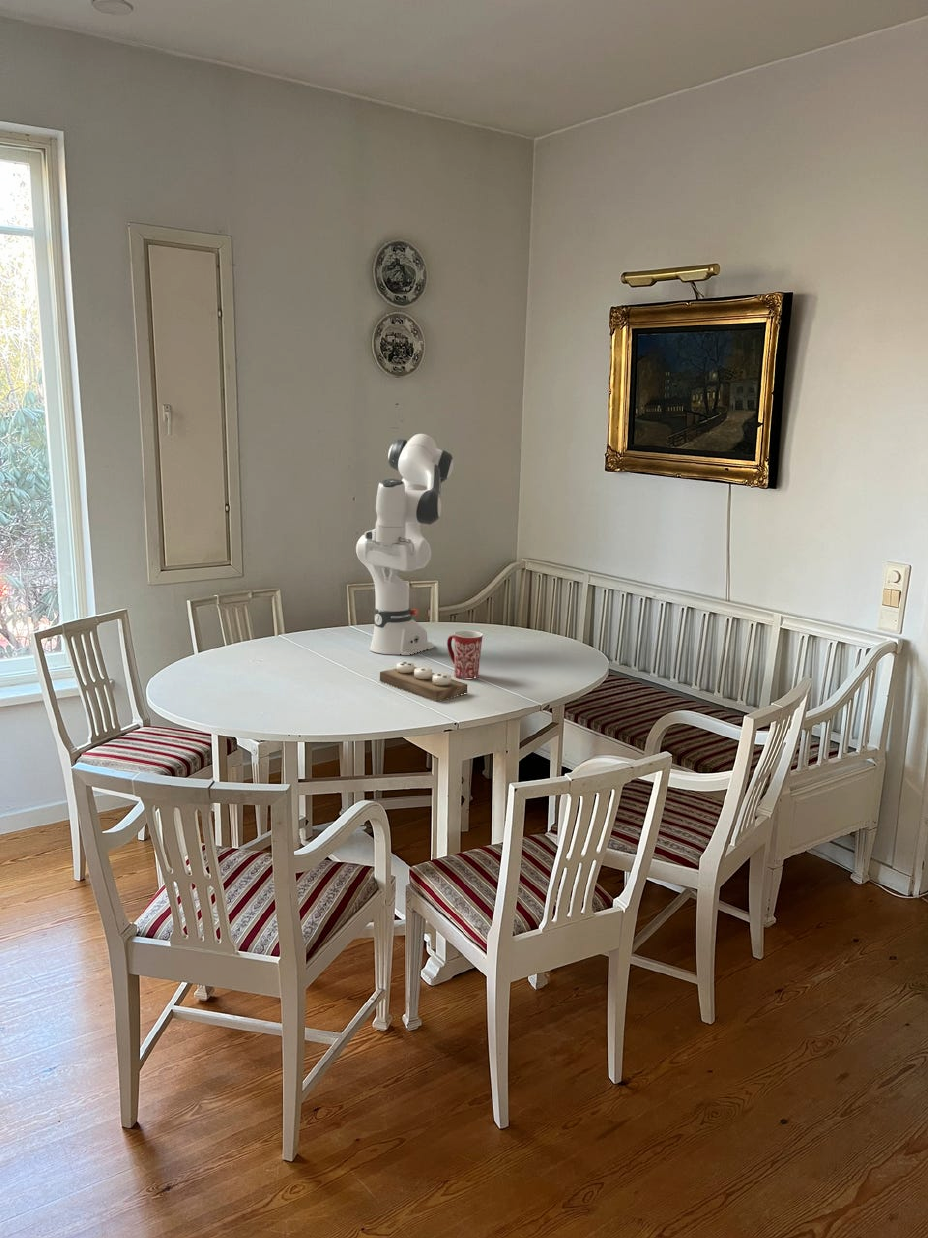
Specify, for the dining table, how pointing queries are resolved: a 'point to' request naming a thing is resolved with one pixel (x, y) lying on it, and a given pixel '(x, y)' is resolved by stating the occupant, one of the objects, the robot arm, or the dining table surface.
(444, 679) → the button two
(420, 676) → the button one
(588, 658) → the dining table surface
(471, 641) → the mug
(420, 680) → the button board
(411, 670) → the button three
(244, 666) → the dining table surface
